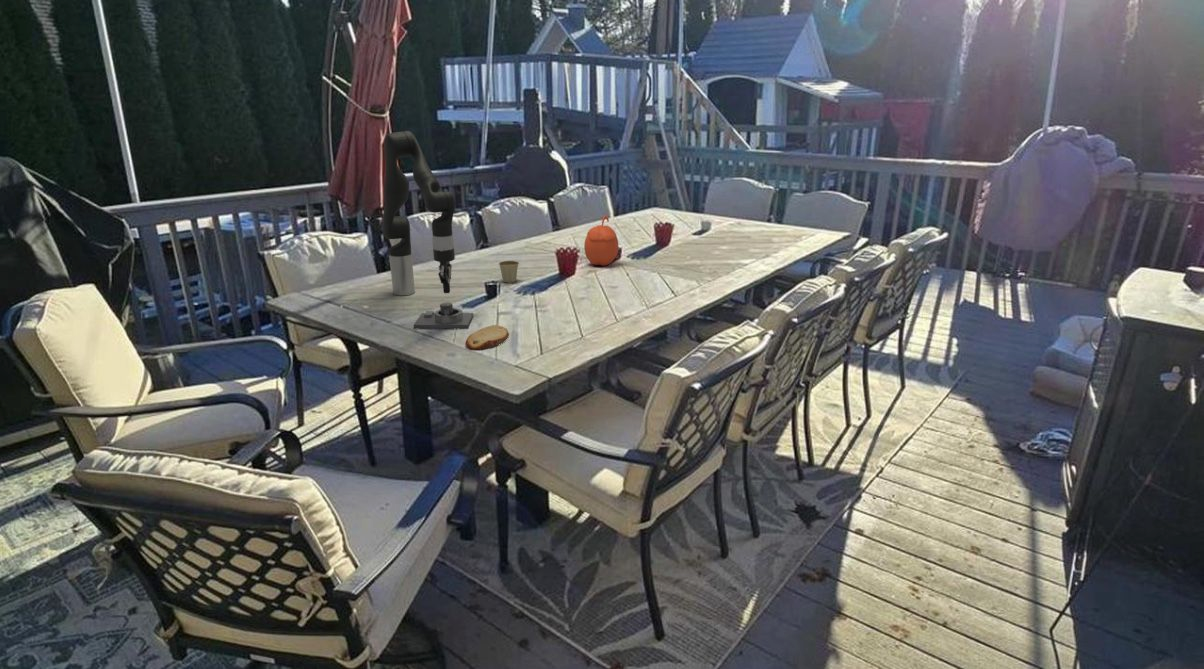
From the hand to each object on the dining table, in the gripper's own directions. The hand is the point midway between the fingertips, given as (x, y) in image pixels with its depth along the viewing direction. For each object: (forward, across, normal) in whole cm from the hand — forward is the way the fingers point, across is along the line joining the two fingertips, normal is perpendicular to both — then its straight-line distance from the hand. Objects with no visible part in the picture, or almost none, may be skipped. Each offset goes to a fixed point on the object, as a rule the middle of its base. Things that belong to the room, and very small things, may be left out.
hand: (447, 292), depth 244 cm
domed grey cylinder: (+11, 0, 0) cm, 11 cm away
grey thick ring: (+11, 0, 0) cm, 11 cm away
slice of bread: (+13, +17, +17) cm, 27 cm away
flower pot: (+12, -59, +17) cm, 63 cm away
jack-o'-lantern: (+12, -90, +61) cm, 110 cm away
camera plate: (+12, -1, -2) cm, 12 cm away
